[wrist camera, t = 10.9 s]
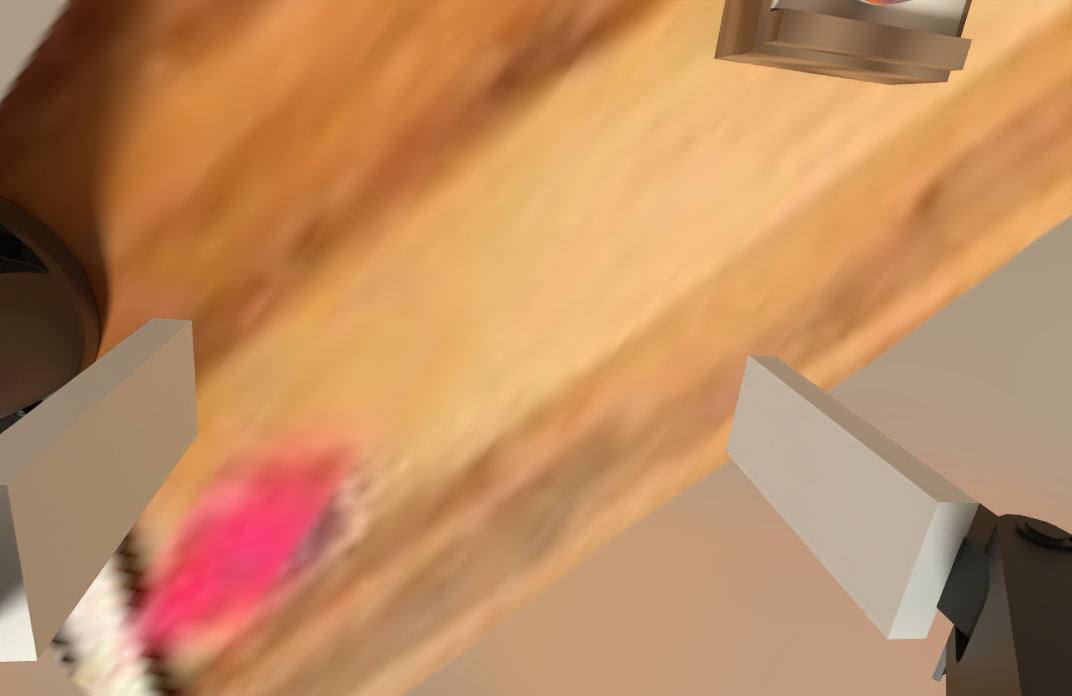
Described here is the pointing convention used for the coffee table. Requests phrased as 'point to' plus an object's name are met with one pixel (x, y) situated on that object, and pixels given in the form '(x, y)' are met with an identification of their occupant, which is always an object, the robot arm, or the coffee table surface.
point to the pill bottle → (883, 2)
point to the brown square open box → (848, 38)
